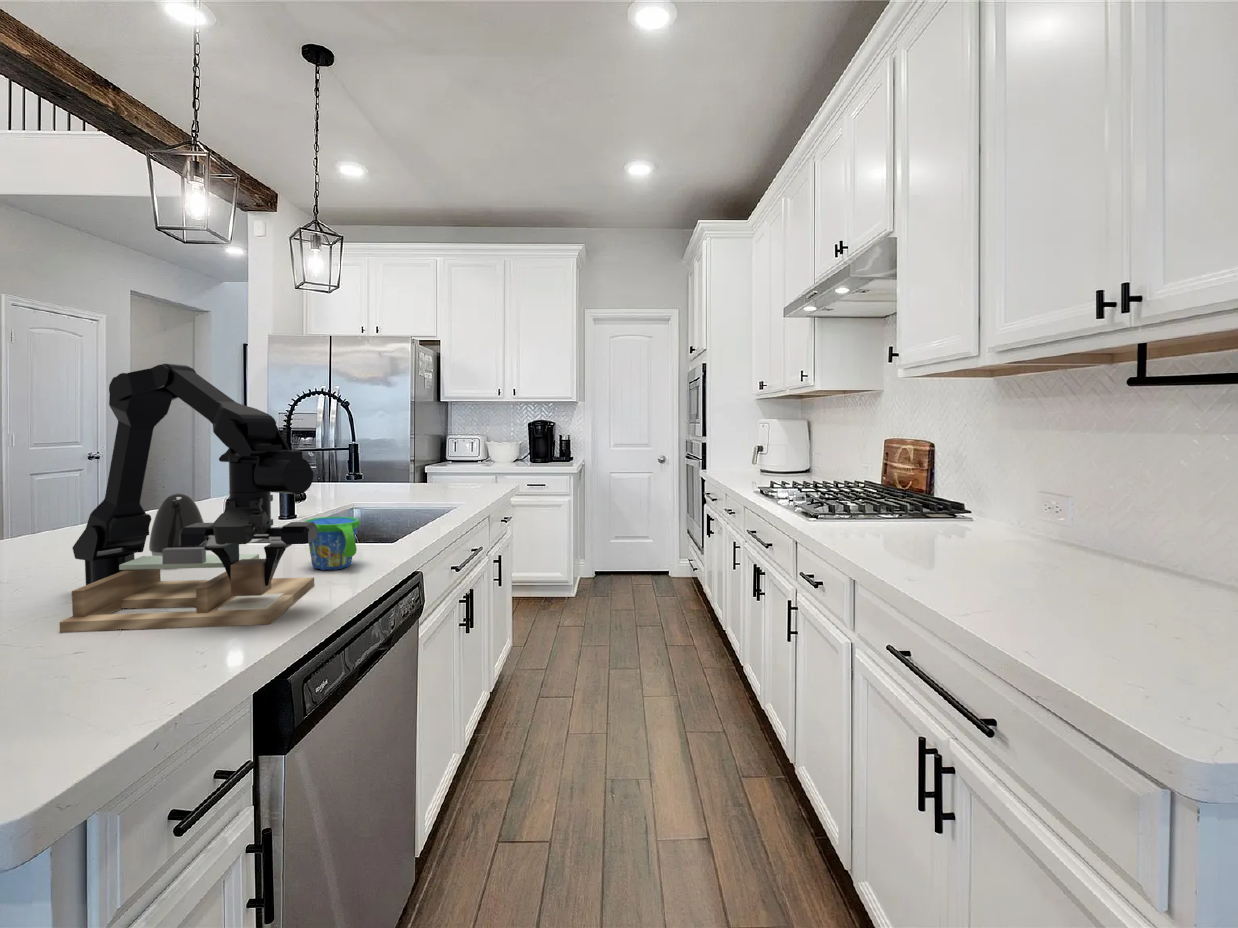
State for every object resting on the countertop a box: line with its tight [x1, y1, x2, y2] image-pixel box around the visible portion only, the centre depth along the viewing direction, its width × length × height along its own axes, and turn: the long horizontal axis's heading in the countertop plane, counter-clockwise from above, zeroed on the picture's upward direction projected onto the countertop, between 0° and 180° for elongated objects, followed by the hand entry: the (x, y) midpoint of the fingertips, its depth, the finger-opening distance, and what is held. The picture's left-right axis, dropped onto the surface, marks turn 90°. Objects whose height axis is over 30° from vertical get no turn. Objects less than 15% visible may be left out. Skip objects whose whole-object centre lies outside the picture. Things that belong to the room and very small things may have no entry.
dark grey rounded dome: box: [148, 493, 207, 556], centre depth 131 cm, size 10×10×15 cm
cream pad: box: [218, 593, 284, 611], centre depth 100 cm, size 7×8×1 cm
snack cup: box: [304, 516, 360, 571], centre depth 131 cm, size 16×10×10 cm
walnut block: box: [231, 558, 271, 596], centre depth 100 cm, size 4×4×5 cm
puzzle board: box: [59, 569, 315, 633], centre depth 103 cm, size 28×23×6 cm
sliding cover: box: [119, 547, 260, 570], centre depth 108 cm, size 19×7×3 cm, turn 101°
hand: (251, 585), depth 100 cm, fingers closed on walnut block, 4 cm apart
